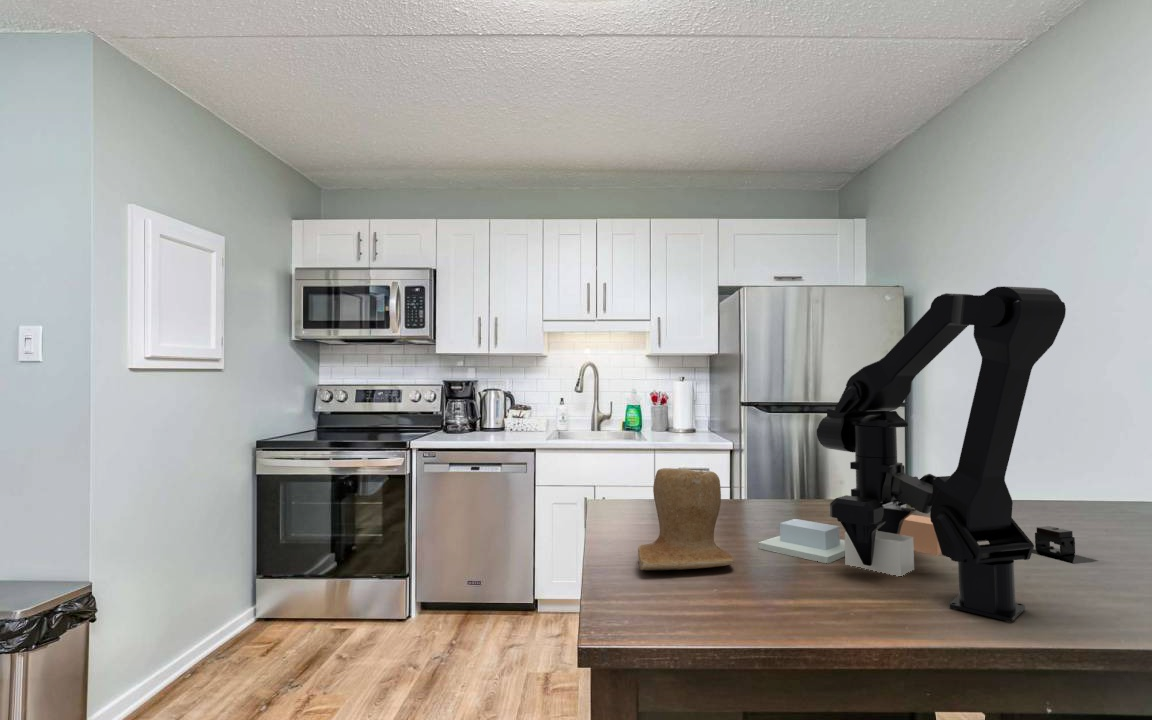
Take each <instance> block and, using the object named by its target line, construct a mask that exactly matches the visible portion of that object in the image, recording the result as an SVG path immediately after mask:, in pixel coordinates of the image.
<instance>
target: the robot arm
mask: <svg viewBox="0 0 1152 720" xmlns="http://www.w3.org/2000/svg"><path fill="white" fill-rule="evenodd" d="M1066 310H1067V307H1066V304H1065V302H1064V301H1062V299H1061V298H1060V296H1059V294H1057V293H1056V292H1055V291H1053V290H1051V289H1048V288H1045V287H1027V286H1025V287H1024V286H995V287H993V288H990V289H989V290H988V291H987V292H985V293H984V294H980V295H977V294H976V295H974V294H970V293H969V294H968V293H967V294H966V293H947V292H946V293H942V294H941V295H938V296H936V297H935V298H934V299H933V300H932V301H931V304H930V307H929V309H927V311H926V312H925V313H923V315H922V316H921V317H920V318H919V319H918V320H917V321H916V322H915V323H914V324H913V326H912V327H911V328H910V329H909V330H908V331H907V332H906V333H905V334H904V335H903V336H902V338H900V339H899V340H898V342H897V343H896V344H895V345H894V346H893V347H891V349H890V350H889V351H888V352H887V353H886V354H885V355H884V356H883V357H882V358H881V359H879V360H878V361H875V362H873V363H870V364H867V365H865V366H863V367H861V369H859V370H858V371H856V372H855V373H854V374H853V375H851V376H850V377H849V379H848V380H847V382H846V384H845V388H844V391H843V392H842V394H841V397H840V399H839V400H838V402H837V404H836V405H835V408H827V409H826V415H825V417H823V418H822V419H821V420H820V421H819V423H818V426H817V428H816V437H817V438H816V439H817V440H818V442H819V443H820V445H821V446H822V447H824V448H826V449H829V450H835V451H841V452H846V453H847V452H848V453H854V454H855V455H854V457H855V461H851V462H850V463H849V464H850V470H855V488H851V489H850V495H847V494H846V495H843V496H842V495H841V496H839V497H835V499H834V500H832V501H831V502H830V503H829V510H830V511H829V513H830V514H829V516H830V517H831V518H834V519H836V520H837V522H840V523H841V525H842V527H843V529H844V530H845V533H846V532H847V534H848V536H849V537H850V539H851V541H852V543H853V545H854V547H855V549H856V551H857V553H858V555H859V557H860V559H861V561H862V563H863V564H864V565H867V566H871V565H872V561H873V554H874V545H875V536H876V531H882V532H887V533H893V534H899V533H900V530H901V527H902V524H903V521H904V520H905V519H906V518H907V517H908V516H910V515H913V514H914V513H916V511H917V512H919V513H922V514H925V515H926V514H929V518H931V522H932V523H933V526H934V530H935V533H936V536H937V539H938V543H939V546H940V549H941V552H942V554H941V555H942V556H943V557H947V558H949V559H951V561H953V562H957V567H958V568H957V569H958V591H959V592H958V596H956V597H955V598H954V599H953V600H951V601H950V602H949V603H948V605H949V608H952V609H955V610H959V611H964V612H969V613H973V614H976V615H980V616H985V617H989V618H993V619H996V620H997V619H998V620H1002V621H1006V622H1013V621H1015V620H1016V619H1017V617H1019V615H1021V614H1022V613H1023V612H1024V611H1025V610H1026V605H1025V604H1024V603H1020V602H1016V587H1015V586H1016V584H1015V581H1016V580H1015V561H1020V560H1024V561H1029V560H1030V559H1031V557H1032V555H1033V553H1032V551H1033V548H1034V546H1035V543H1033V541H1031V539H1030V538H1029V537H1028V535H1026V533H1025V532H1024V531H1023V529H1021V527H1020V525H1018V523H1017V522H1016V521H1015V520H1014V518H1013V515H1012V514H1013V503H1014V502H1013V499H1012V495H1011V493H1010V491H1009V488H1008V485H1007V483H1006V480H1005V479H1006V474H1007V470H1008V466H1009V460H1010V457H1011V453H1012V450H1013V446H1014V441H1015V437H1016V433H1017V430H1018V425H1019V422H1020V418H1021V414H1022V413H1021V412H1022V409H1023V406H1024V402H1025V397H1026V394H1027V390H1028V386H1029V381H1030V379H1031V374H1032V369H1033V367H1034V365H1035V364H1036V363H1037V362H1038V361H1039V360H1040V359H1041V358H1042V357H1043V355H1044V354H1045V353H1046V352H1048V350H1049V349H1050V348H1051V347H1052V346H1053V345H1054V343H1055V341H1056V339H1057V337H1058V334H1059V331H1060V329H1061V327H1062V325H1063V323H1064V321H1065V318H1066ZM969 326H973V338H974V340H975V344H976V345H977V348H978V351H979V354H980V357H981V362H980V363H981V364H980V367H979V368H980V369H979V373H978V376H977V381H976V385H975V389H974V394H973V398H972V403H971V407H970V411H969V415H968V421H967V425H966V430H965V432H964V436H963V442H962V446H961V451H960V455H959V459H958V464H957V467H956V470H955V471H954V472H953V473H952V474H950V475H946V476H945V475H944V476H942V475H940V476H936V475H934V474H933V473H928V474H924V475H923V476H922V477H921V478H919V477H918V476H916V475H915V476H912V475H909V474H907V473H906V472H905V469H906V468H905V465H903V462H898V443H897V441H898V438H897V428H908V426H909V423H908V421H906V420H905V419H904V418H903V417H902V416H901V415H899V413H898V411H896V410H897V409H899V408H900V407H901V406H902V404H903V403H904V402H905V401H906V399H907V398H908V396H909V395H910V393H911V391H912V383H913V380H914V379H915V378H916V376H917V375H918V374H920V372H921V371H923V370H924V369H925V368H926V367H927V366H928V365H929V364H930V363H931V362H932V361H933V360H934V359H935V358H936V357H937V356H939V354H940V353H941V352H942V351H943V350H945V348H947V347H948V345H950V344H951V343H952V342H953V341H954V340H955V339H956V338H958V336H959V335H960V334H961V333H963V331H965V329H966V328H968V327H969ZM907 505H908V506H909V508H908V507H907ZM910 507H911V508H910ZM981 542H988V543H986V544H979V543H981Z"/></svg>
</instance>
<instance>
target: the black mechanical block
mask: <svg viewBox="0 0 1152 720" xmlns="http://www.w3.org/2000/svg"><path fill="white" fill-rule="evenodd" d="M1075 541H1076V539H1075V537H1074V535H1073V530H1069V529H1064V528H1059V527H1055V526H1051V525H1047V526H1039V527H1038V526H1037V527H1036V532H1035V533H1034V548H1033V551H1032V555H1033V554H1034V555H1039V556H1041V557H1046V558H1050V559H1054V560H1057V561H1061V562H1063V563H1064V562H1066V563H1069V564H1073V565H1078V564H1084V563H1085V564H1086V563H1094V562H1099V560H1097V559H1094V558H1090V557H1086V556H1083V555H1079V554H1076V542H1075ZM1051 543H1053V544H1054V545H1058V546H1059V547H1058V548H1057V547H1054V546H1053V545H1051Z"/></svg>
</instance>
